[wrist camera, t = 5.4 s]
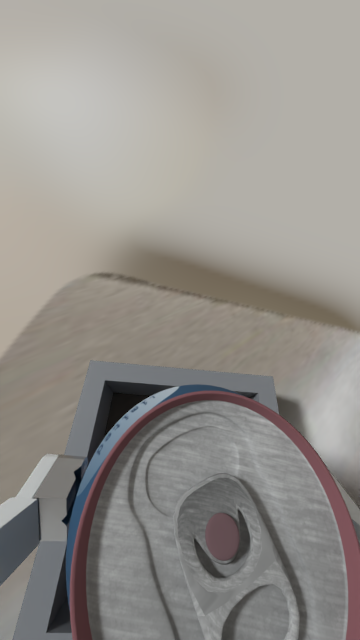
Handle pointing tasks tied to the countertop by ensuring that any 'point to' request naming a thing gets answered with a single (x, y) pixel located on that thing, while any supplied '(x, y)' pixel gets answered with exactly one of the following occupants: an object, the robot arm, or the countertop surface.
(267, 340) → the countertop surface
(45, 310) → the countertop surface
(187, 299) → the countertop surface
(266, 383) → the frame
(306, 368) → the countertop surface
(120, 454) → the soda can
